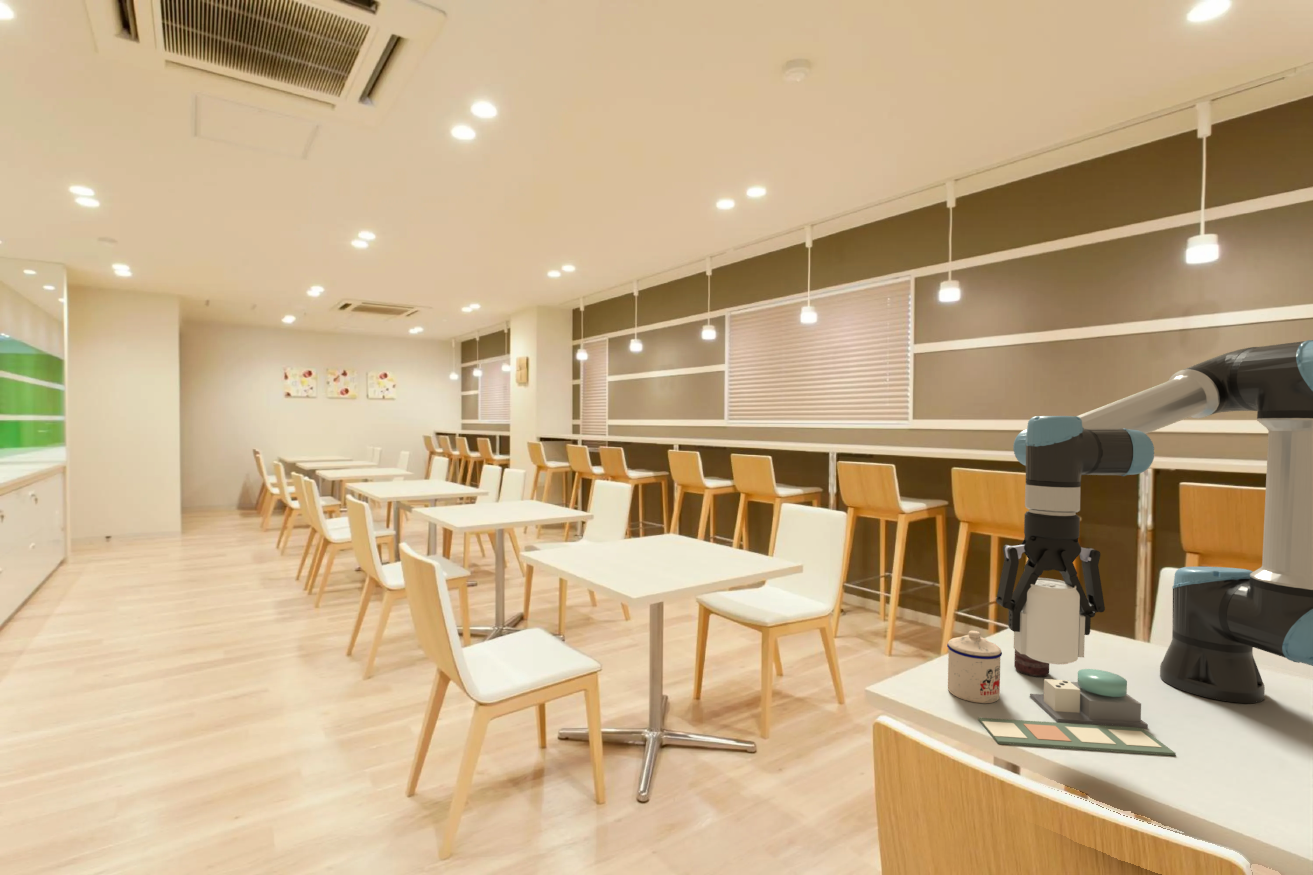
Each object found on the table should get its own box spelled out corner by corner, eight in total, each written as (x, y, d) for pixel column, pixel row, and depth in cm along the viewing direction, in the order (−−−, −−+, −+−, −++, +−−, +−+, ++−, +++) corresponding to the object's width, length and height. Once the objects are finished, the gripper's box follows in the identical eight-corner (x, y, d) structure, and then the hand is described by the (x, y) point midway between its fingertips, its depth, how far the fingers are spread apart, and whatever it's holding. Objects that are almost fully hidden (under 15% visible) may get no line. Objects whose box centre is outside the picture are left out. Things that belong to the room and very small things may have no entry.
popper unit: (1111, 701, 114) (1112, 675, 114) (1147, 727, 104) (1148, 699, 104) (1029, 696, 116) (1030, 671, 116) (1057, 722, 106) (1058, 694, 106)
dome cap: (1111, 697, 113) (1111, 670, 113) (1135, 715, 106) (1136, 686, 106) (1069, 695, 114) (1069, 667, 114) (1090, 712, 107) (1091, 683, 107)
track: (1141, 730, 103) (1141, 727, 103) (1175, 755, 96) (1175, 752, 96) (978, 719, 107) (978, 716, 107) (997, 743, 99) (998, 740, 99)
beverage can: (1058, 670, 96) (1060, 591, 96) (1007, 652, 103) (1009, 579, 103) (1088, 661, 100) (1091, 586, 99) (1037, 645, 107) (1039, 574, 106)
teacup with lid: (989, 709, 111) (991, 643, 110) (937, 692, 117) (939, 630, 117) (1014, 690, 119) (1015, 629, 118) (964, 675, 125) (965, 617, 125)
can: (1049, 669, 129) (1050, 601, 129) (1048, 679, 124) (1050, 609, 124) (1015, 663, 132) (1016, 597, 132) (1013, 673, 127) (1014, 604, 127)
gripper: (1107, 510, 103) (1104, 648, 104) (974, 507, 106) (971, 641, 106) (1136, 517, 96) (1132, 665, 96) (992, 513, 98) (989, 657, 99)
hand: (1048, 652), depth 101 cm, fingers closed on beverage can, 8 cm apart
